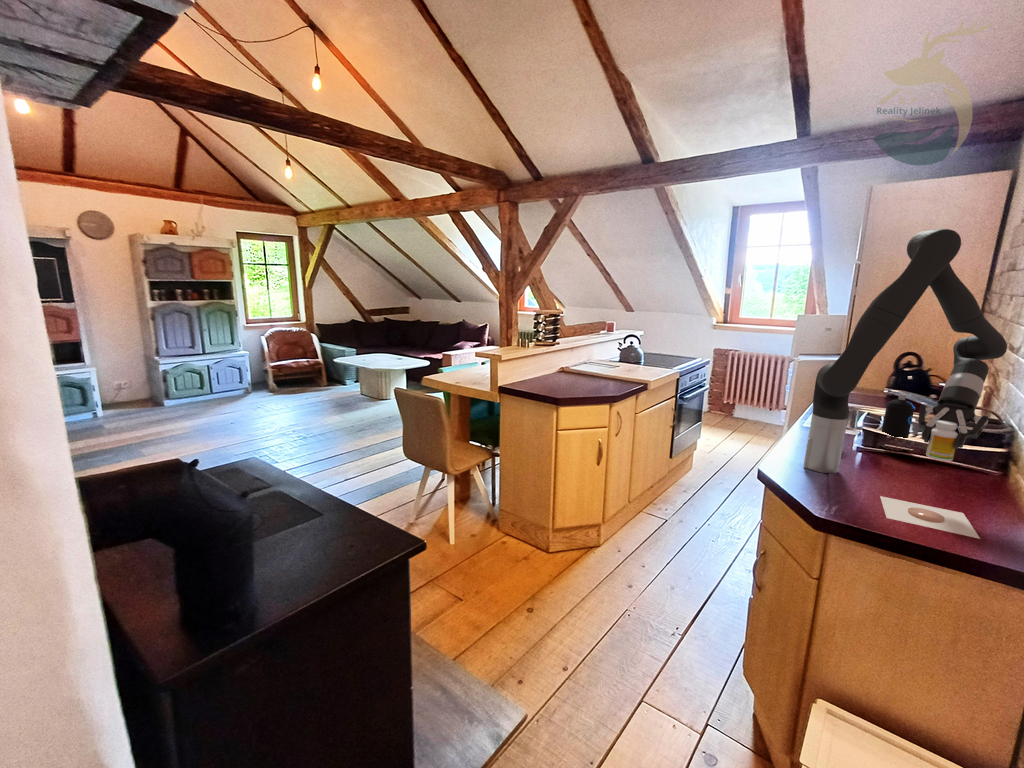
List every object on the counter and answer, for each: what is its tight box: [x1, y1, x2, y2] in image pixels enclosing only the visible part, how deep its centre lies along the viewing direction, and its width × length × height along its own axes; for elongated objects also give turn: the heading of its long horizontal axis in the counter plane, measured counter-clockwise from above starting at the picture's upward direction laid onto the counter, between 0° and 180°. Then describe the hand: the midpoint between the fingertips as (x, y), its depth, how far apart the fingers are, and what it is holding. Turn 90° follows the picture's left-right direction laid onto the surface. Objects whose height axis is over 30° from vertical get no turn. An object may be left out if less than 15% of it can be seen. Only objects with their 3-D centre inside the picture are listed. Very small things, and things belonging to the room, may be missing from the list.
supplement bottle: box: [925, 421, 959, 462], centre depth 124 cm, size 5×5×10 cm
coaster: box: [908, 508, 945, 522], centre depth 119 cm, size 7×7×1 cm
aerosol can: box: [881, 393, 916, 439], centre depth 170 cm, size 8×8×20 cm
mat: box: [879, 495, 981, 539], centre depth 119 cm, size 17×15×1 cm
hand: (940, 443), depth 123 cm, fingers closed on supplement bottle, 5 cm apart
